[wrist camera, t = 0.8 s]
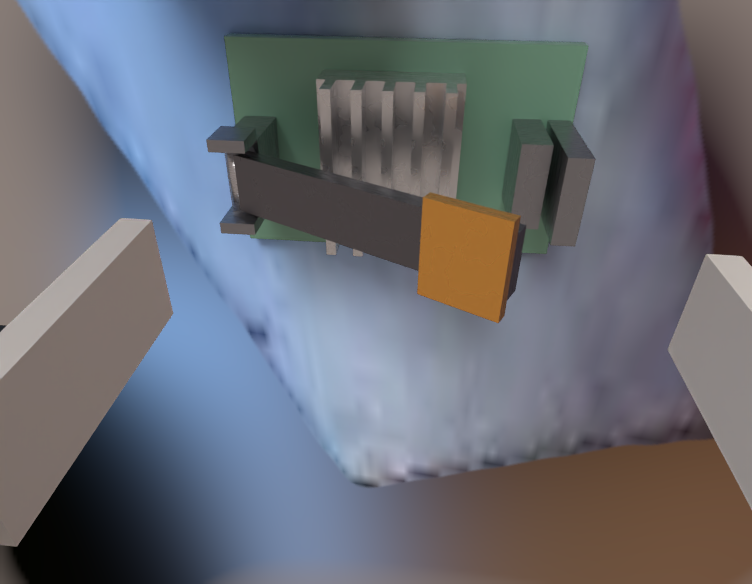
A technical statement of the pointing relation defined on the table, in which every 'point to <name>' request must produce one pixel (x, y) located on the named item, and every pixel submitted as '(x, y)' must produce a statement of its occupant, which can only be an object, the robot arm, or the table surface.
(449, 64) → the board
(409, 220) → the strap
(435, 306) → the table surface
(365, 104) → the heatsink
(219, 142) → the forked tab bracket
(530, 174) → the lug
